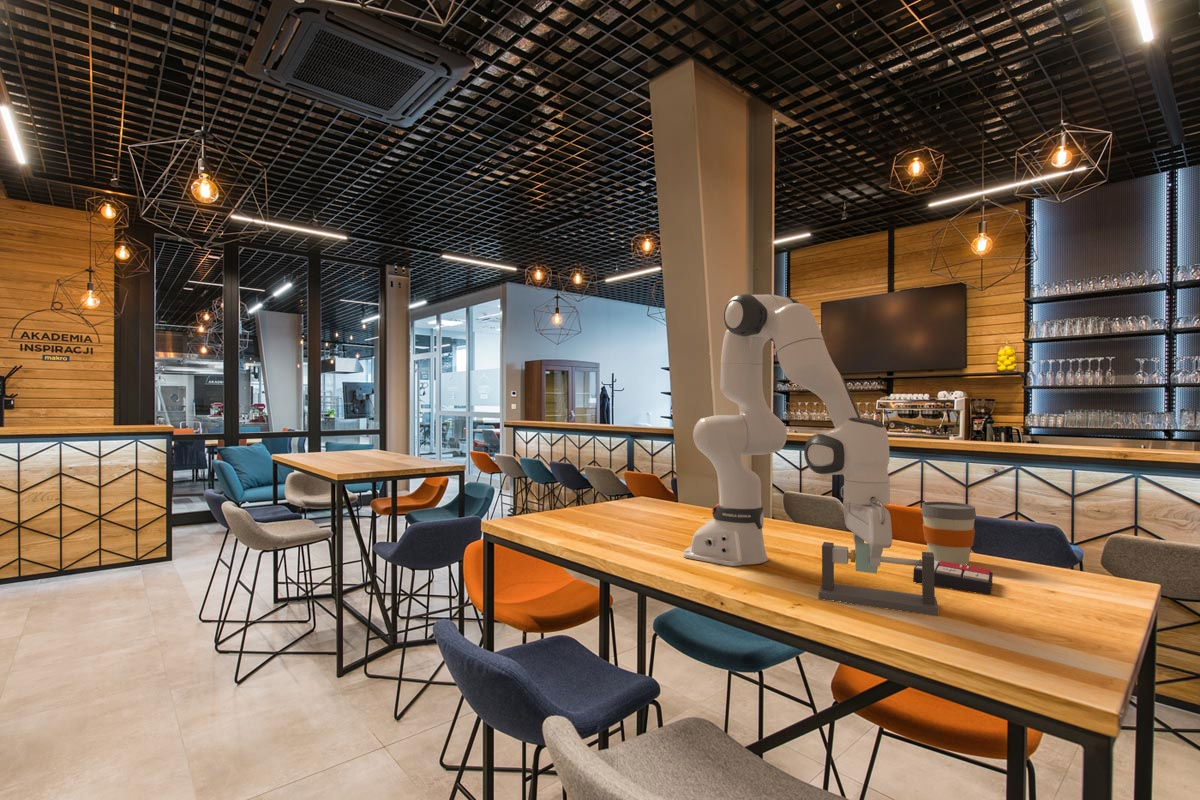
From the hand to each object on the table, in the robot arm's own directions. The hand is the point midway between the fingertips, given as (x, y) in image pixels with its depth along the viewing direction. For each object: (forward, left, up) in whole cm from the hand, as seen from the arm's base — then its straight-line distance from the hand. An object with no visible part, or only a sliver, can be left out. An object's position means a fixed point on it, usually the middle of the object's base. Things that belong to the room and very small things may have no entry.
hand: (867, 559), depth 121 cm
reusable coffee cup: (+18, +44, -9) cm, 48 cm away
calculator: (+17, +23, -9) cm, 30 cm away
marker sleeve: (0, 0, -2) cm, 2 cm away
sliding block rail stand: (+2, 0, -9) cm, 9 cm away
